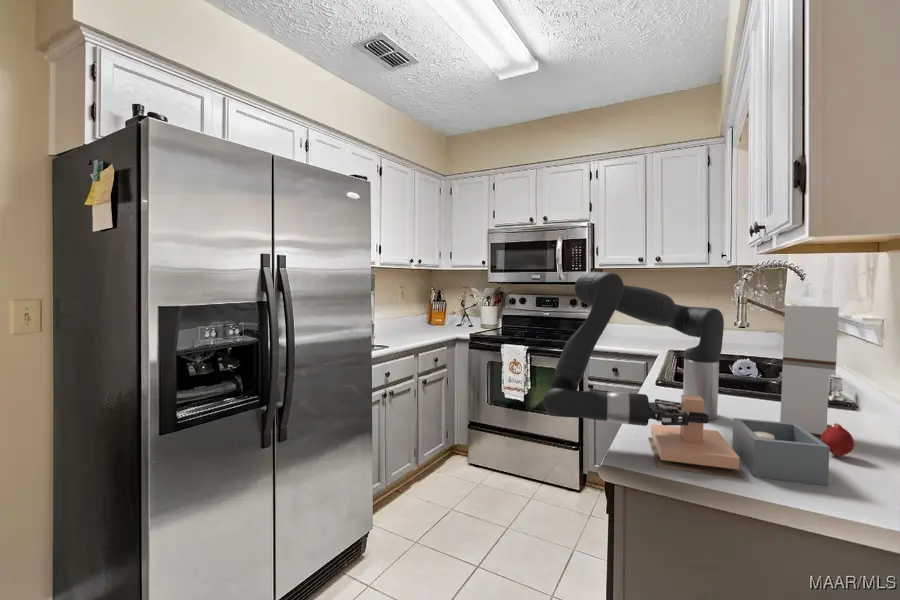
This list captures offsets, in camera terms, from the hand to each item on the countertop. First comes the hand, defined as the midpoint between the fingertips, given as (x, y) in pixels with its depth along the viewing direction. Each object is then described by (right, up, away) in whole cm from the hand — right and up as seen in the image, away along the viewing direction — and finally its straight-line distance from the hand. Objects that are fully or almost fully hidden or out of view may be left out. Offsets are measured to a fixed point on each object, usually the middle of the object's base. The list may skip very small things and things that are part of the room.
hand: (705, 415), depth 102 cm
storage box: (+13, -10, -4) cm, 17 cm away
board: (-3, -10, +1) cm, 10 cm away
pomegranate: (+32, -10, +1) cm, 34 cm away
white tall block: (+37, -10, +17) cm, 42 cm away
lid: (-3, -8, +1) cm, 9 cm away
